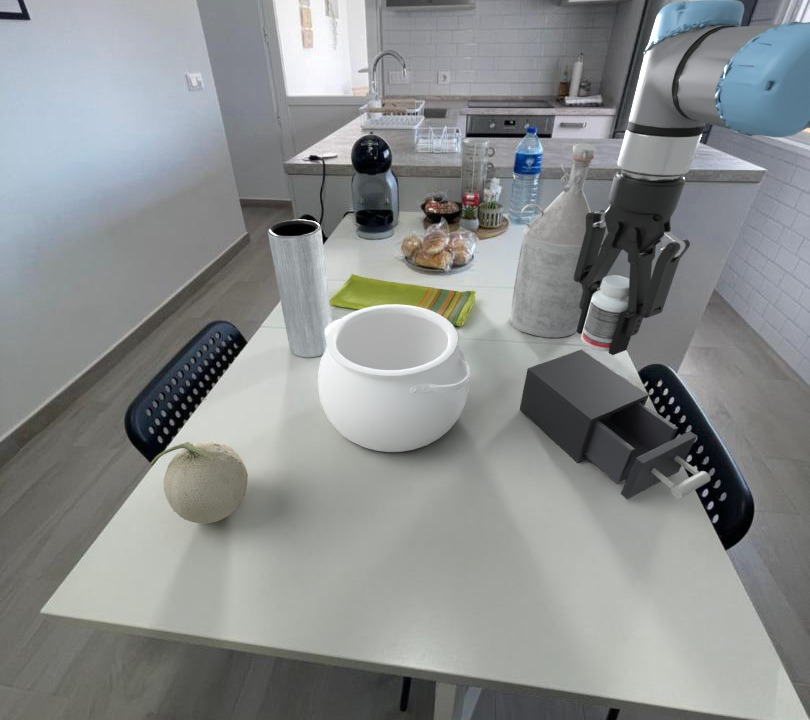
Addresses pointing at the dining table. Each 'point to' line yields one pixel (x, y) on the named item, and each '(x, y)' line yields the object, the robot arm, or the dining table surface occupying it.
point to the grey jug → (553, 258)
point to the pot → (392, 377)
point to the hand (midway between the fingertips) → (600, 340)
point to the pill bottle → (605, 312)
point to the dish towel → (404, 297)
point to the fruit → (204, 481)
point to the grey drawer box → (575, 398)
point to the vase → (302, 284)
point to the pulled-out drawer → (642, 451)
